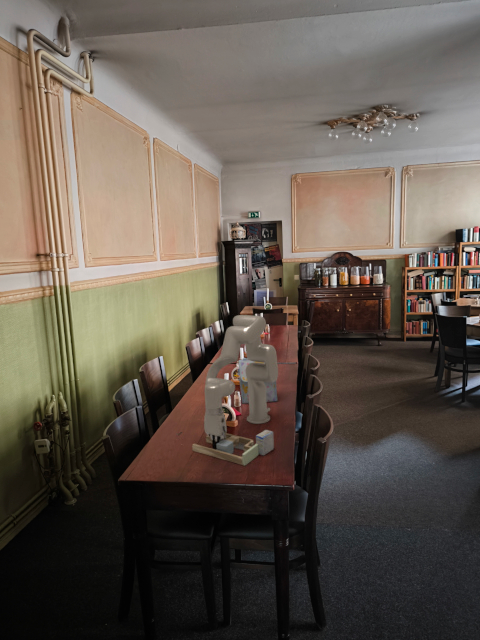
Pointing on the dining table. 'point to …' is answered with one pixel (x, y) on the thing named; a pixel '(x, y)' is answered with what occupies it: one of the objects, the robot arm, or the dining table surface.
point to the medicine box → (265, 442)
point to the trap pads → (239, 446)
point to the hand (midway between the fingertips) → (216, 448)
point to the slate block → (225, 446)
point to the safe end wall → (250, 454)
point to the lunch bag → (270, 386)
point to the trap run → (224, 455)
